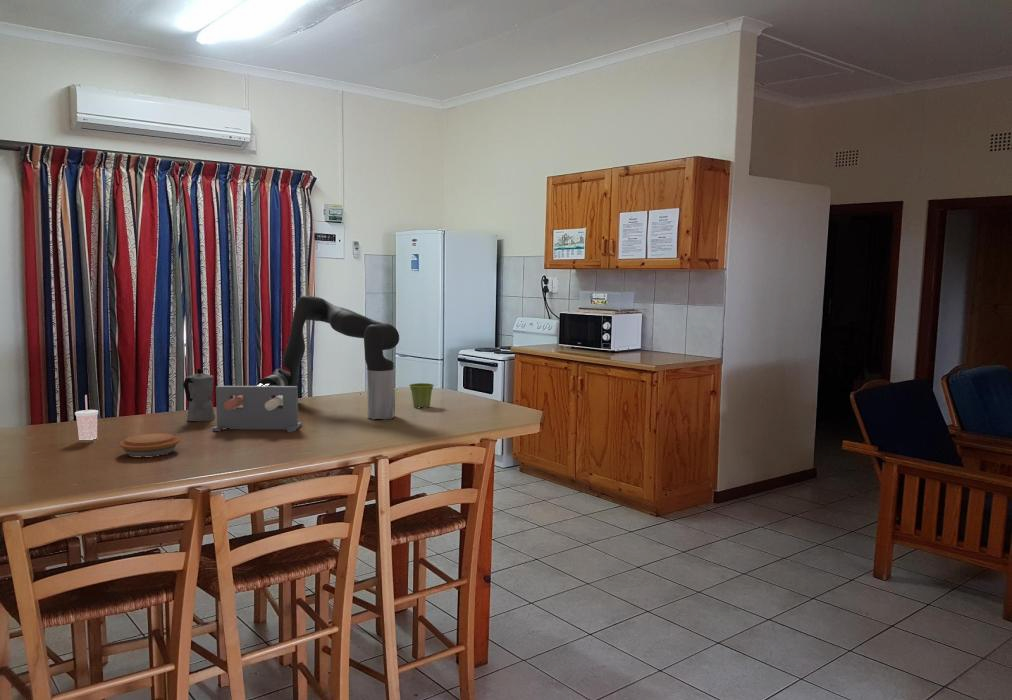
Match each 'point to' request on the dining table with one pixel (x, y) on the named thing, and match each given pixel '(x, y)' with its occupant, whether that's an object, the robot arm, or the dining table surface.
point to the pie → (149, 444)
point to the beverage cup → (87, 423)
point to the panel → (257, 408)
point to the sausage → (233, 402)
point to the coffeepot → (199, 396)
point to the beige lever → (274, 403)
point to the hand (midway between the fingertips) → (255, 393)
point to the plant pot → (421, 394)
